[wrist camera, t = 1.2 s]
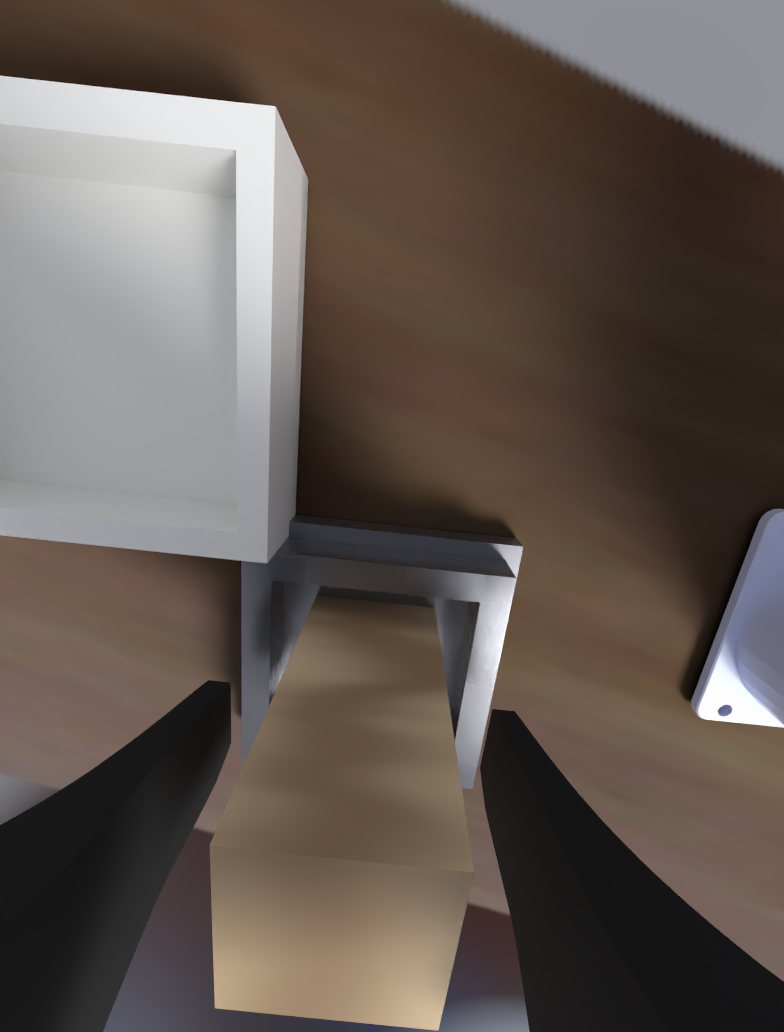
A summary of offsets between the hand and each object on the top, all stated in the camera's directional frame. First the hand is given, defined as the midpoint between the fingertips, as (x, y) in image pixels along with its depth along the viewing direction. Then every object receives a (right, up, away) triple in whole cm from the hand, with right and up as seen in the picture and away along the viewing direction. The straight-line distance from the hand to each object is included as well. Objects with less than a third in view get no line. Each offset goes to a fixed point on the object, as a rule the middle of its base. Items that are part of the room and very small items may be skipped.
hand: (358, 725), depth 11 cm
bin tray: (-7, +11, +1) cm, 13 cm away
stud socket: (0, +1, +4) cm, 4 cm away
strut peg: (0, +1, +3) cm, 3 cm away
